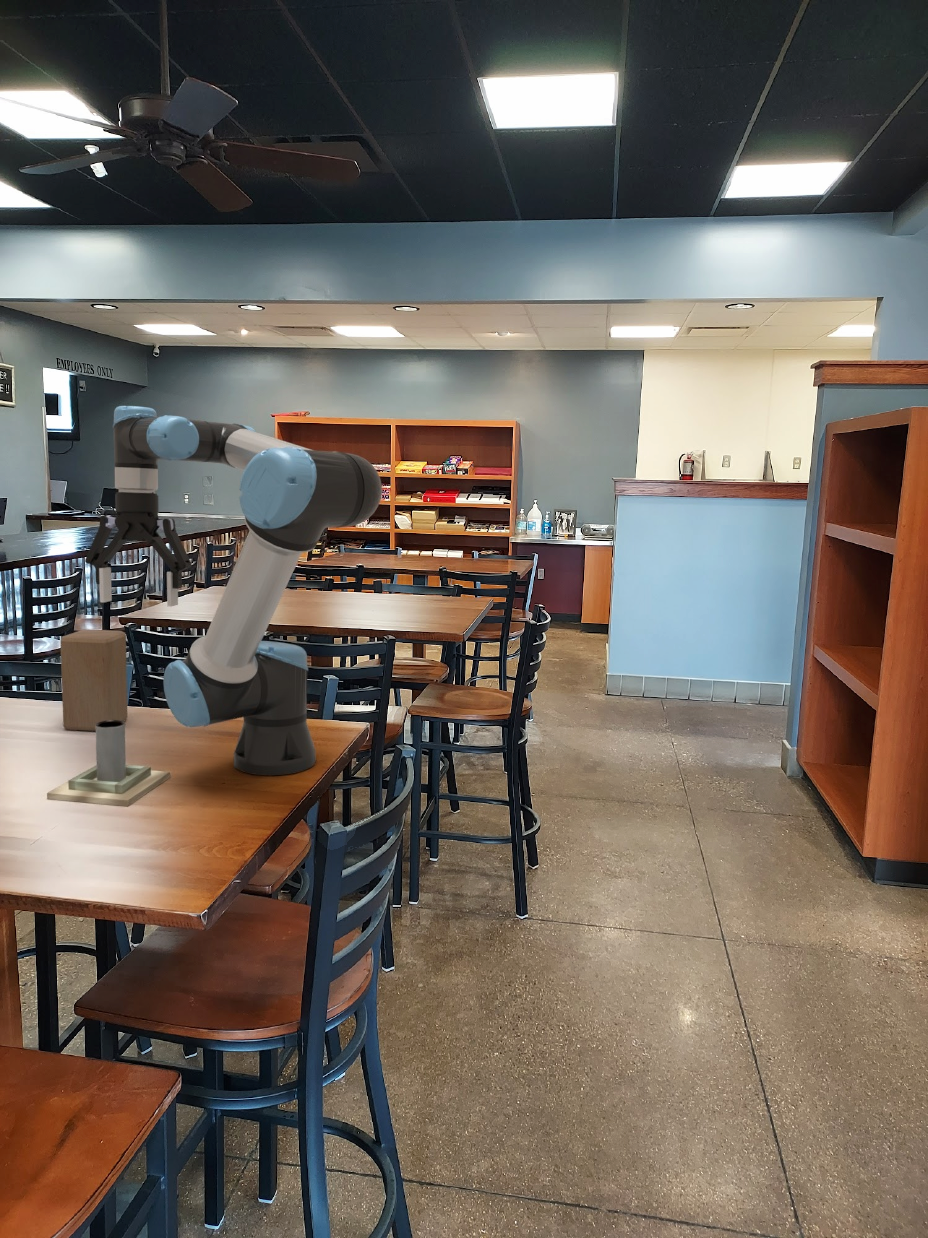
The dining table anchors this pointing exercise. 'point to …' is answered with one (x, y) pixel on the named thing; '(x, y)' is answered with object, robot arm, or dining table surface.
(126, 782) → the stand
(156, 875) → the dining table surface
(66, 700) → the block
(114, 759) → the grey hollow tube
